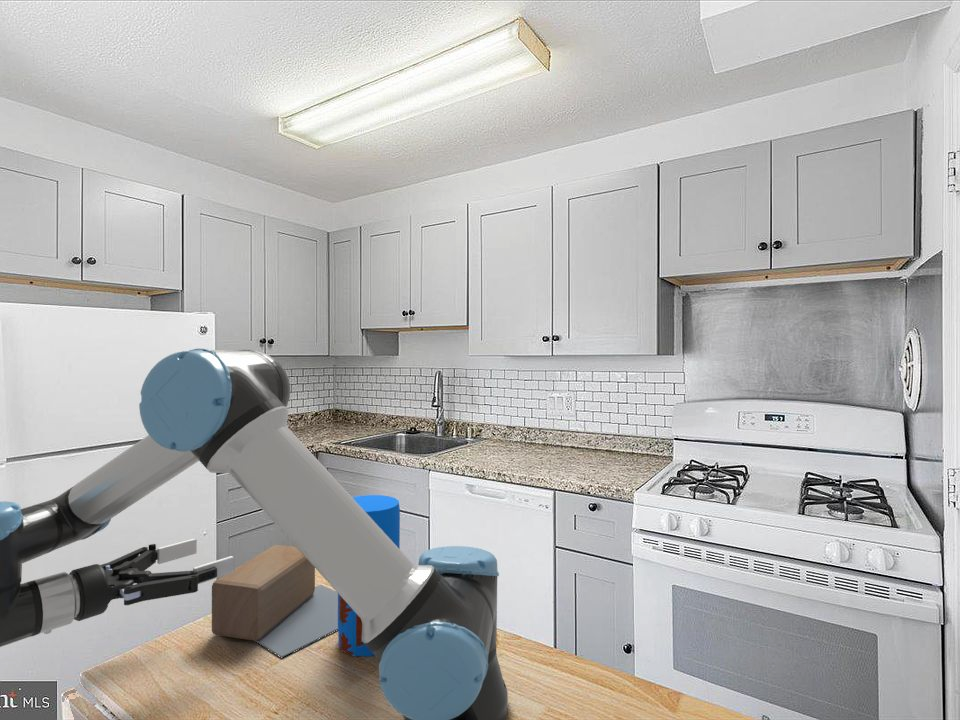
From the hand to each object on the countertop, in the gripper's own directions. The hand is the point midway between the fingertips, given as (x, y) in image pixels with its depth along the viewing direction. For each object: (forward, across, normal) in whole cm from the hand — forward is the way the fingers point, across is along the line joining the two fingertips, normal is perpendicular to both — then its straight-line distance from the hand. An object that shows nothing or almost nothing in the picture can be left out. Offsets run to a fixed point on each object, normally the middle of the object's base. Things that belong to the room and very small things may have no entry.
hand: (213, 554), depth 97 cm
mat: (+14, +7, -15) cm, 22 cm away
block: (+1, +5, -10) cm, 11 cm away
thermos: (+17, +23, -15) cm, 32 cm away
